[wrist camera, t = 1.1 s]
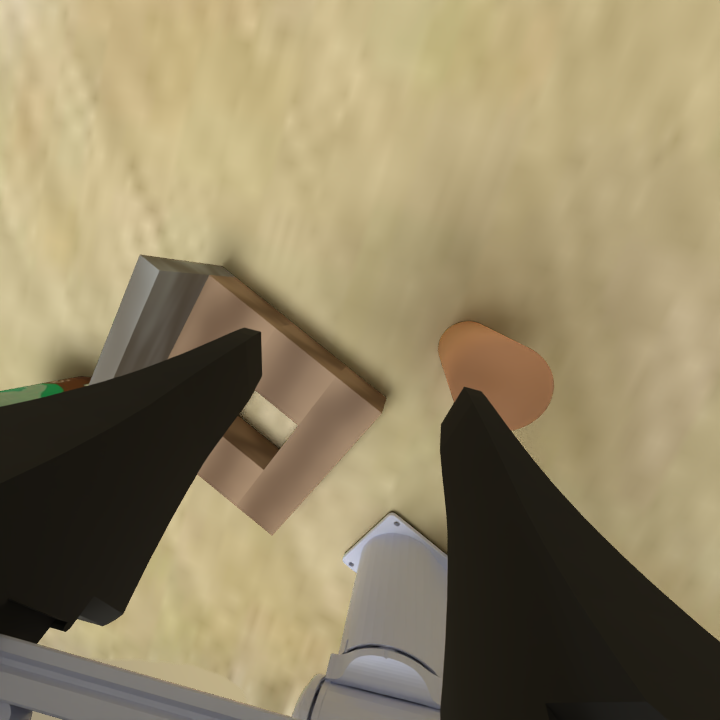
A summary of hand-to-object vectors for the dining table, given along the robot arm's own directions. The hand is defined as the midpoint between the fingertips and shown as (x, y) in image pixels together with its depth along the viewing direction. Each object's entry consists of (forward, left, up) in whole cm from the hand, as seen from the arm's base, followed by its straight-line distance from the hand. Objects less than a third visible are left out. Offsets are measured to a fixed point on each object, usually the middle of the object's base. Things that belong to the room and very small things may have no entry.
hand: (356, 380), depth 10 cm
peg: (-5, -3, -12) cm, 13 cm away
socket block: (+6, +12, -12) cm, 18 cm away
